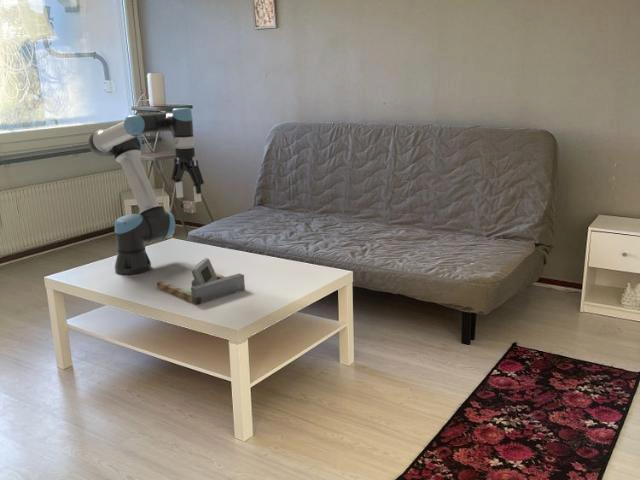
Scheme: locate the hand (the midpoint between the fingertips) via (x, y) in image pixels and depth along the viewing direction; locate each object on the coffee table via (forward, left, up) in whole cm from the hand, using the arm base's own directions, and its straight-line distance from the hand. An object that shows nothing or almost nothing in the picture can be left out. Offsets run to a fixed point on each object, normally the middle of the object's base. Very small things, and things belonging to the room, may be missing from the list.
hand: (188, 199), depth 259 cm
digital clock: (+21, -8, -32) cm, 39 cm away
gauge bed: (+19, -10, -32) cm, 38 cm away
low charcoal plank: (+31, -10, -32) cm, 46 cm away
